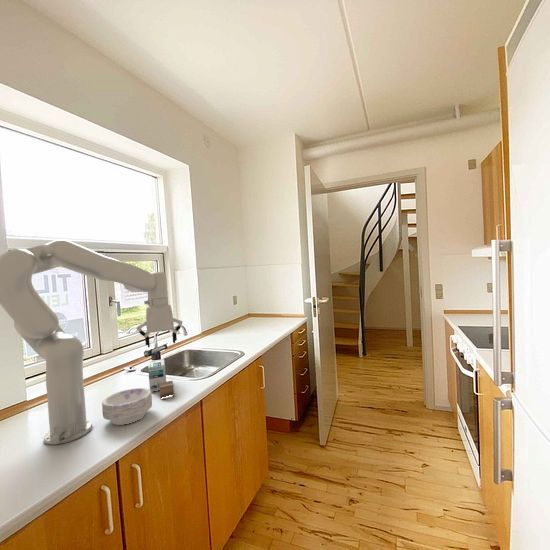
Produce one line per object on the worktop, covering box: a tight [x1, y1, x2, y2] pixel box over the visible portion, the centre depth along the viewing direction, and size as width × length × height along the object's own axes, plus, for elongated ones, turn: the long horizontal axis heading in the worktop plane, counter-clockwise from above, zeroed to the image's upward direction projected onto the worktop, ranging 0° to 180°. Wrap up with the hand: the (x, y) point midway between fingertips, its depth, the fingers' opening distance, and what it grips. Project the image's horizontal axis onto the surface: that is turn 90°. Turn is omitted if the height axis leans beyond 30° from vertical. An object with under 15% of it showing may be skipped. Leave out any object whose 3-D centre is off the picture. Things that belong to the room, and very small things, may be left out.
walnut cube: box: [159, 380, 175, 399], centre depth 117 cm, size 5×5×5 cm
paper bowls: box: [101, 387, 153, 426], centre depth 100 cm, size 15×15×8 cm
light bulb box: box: [147, 358, 167, 393], centre depth 127 cm, size 11×7×11 cm, turn 22°
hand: (161, 344), depth 117 cm, fingers open, 9 cm apart
